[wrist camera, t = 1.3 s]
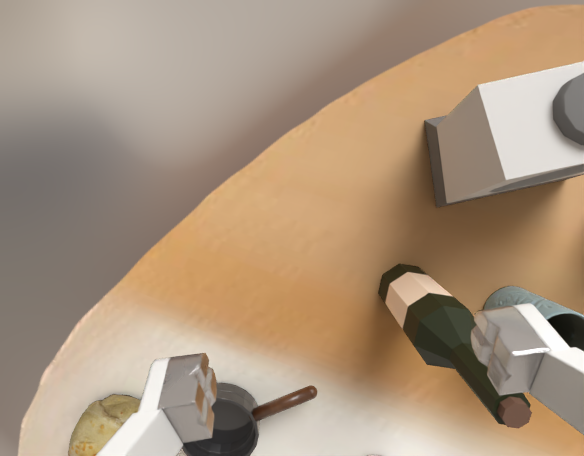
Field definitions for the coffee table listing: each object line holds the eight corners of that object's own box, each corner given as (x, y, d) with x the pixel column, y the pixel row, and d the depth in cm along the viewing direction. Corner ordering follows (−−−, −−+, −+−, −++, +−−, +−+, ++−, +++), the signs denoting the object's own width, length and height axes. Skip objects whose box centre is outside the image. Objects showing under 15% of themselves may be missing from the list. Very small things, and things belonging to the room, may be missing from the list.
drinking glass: (473, 291, 61) (519, 324, 49) (533, 272, 60) (594, 301, 49) (486, 345, 63) (533, 389, 51) (544, 327, 62) (605, 367, 51)
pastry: (91, 461, 66) (65, 503, 58) (69, 400, 63) (38, 435, 55) (169, 446, 65) (153, 486, 58) (149, 384, 63) (130, 417, 55)
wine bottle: (367, 295, 61) (448, 430, 31) (397, 253, 59) (509, 353, 30) (408, 320, 62) (523, 473, 32) (438, 279, 60) (586, 400, 31)
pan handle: (313, 381, 61) (314, 388, 59) (318, 391, 61) (319, 399, 59) (247, 408, 61) (246, 416, 59) (252, 417, 62) (251, 426, 60)
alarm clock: (436, 207, 58) (516, 235, 38) (422, 104, 55) (501, 76, 35) (566, 179, 57) (715, 193, 38) (559, 73, 54) (718, 28, 34)
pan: (271, 430, 65) (271, 450, 61) (205, 457, 66) (199, 478, 62) (240, 370, 63) (237, 386, 58) (171, 398, 63) (163, 416, 59)
